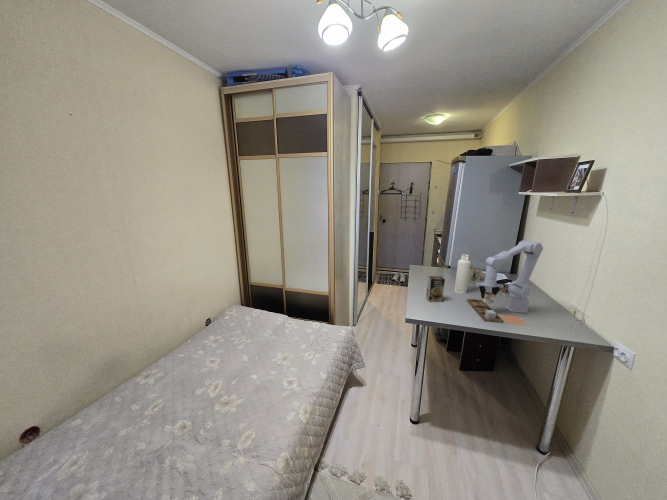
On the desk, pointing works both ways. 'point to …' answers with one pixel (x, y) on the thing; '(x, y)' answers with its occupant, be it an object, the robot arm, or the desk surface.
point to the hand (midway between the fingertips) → (487, 298)
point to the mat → (512, 319)
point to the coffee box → (435, 289)
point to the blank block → (490, 314)
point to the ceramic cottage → (476, 275)
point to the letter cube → (488, 297)
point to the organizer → (483, 310)
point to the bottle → (462, 274)
